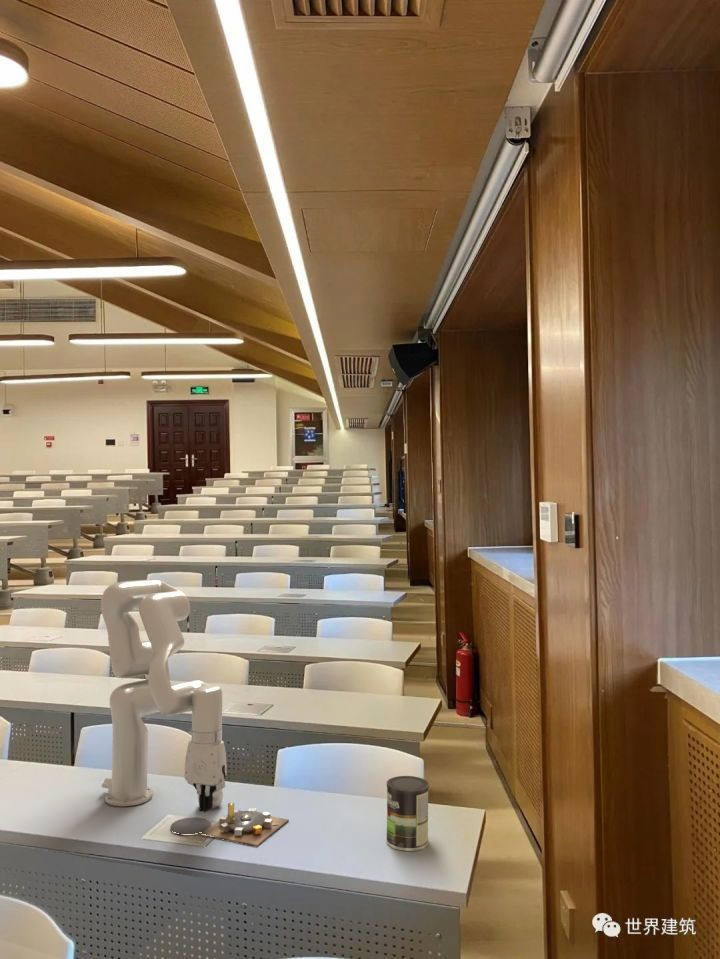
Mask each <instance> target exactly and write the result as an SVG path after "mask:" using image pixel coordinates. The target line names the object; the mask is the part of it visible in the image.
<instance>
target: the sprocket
mask: <svg viewBox="0 0 720 959" xmlns="http://www.w3.org/2000/svg"><path fill="white" fill-rule="evenodd" d="M238 810H239V809H235V802H229V803H227V815H228V816H227V815H221V816H220V818H219V820H218V821H219V825H220V830H221V831H222V832H227V831H230V832H234V836H242V835H243V834H246V833H254V834H255V835H256V834H260V833H262V829H263V828H264V827H265V828H271V826H272V819H270V816H271V813H270V812H268V811H264V812H260V811H257V808H249V809H248V810H240V812H239V811H238Z"/></svg>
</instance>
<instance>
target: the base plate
mask: <svg viewBox="0 0 720 959" xmlns="http://www.w3.org/2000/svg"><path fill="white" fill-rule="evenodd" d="M237 810H238V811H239V812H240V811H241V810H239V809H237ZM226 816H228V814H226ZM270 819H272V826H271V828H265V827H264V828H263V829H262V833H260V834H256V835H255V834H254V833H246V834H243V835H242V836H234V832H230V831H227V832H222V831H221V830H220V825H219V820H218V821H216V822H215V823H214V824H211V827H209V828H208V829H206V830H205V831H203V832H202V833H201V834H206V835H211V836H214V837H216V838H219V839H218V840H221V839H224V840H223V841H225V840H229V841H228V842H230V841H234V842H233V843H235V842H238V843H237V844H240V843H243V844H242V845H245V844H247V845H246V846H250V845H251V846H250V847H254V846H256V848H258V847H260V845H261V844H263V843H264V842H265V841H267V840H268V839H269V838H270V837H271V836H273V835H274V834H276V832H278V831H279V830H280V829H281V828H283V827H284V826H285V825H286V824H288V823H289V822H290V820H289V819H288V818H282V817H276V816H271V815H270ZM201 834H200V835H201ZM272 834H273V835H272ZM216 838H215V839H216ZM267 838H268V839H267ZM262 842H263V843H262ZM257 846H258V847H257Z"/></svg>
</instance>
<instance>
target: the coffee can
mask: <svg viewBox="0 0 720 959" xmlns="http://www.w3.org/2000/svg"><path fill="white" fill-rule="evenodd" d="M429 788H430V783H429V782H428V780H426V779H424V778H422V777H418V776H413V775H399V776H394V777H391V778H389V779H388V780H387V781H386V840H385V843H386V844H387V845H388V846H389V847H391V849H394V850H396V851H402V852H417V851H420V850H423V849H425V848H426V847H428V845H429V838H428V837H429Z"/></svg>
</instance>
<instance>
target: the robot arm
mask: <svg viewBox="0 0 720 959" xmlns="http://www.w3.org/2000/svg"><path fill="white" fill-rule="evenodd" d="M100 609H101V615H102V618H103V621H104V624H105V627H106V631H107V640H108V648H109V657H110V665H111V670H112V673H113V675H114V676H115V677H116V678H117V679H130V678H136V677H142V676H144V677H145V678H144V680H143V679H142V680H137V681H132V682H128V683H123V684H121V685H119V686H117V687H116V688H114V689H113V690H112V692H111V694H110V695H109V710H110V714H111V723H112V744H111V745H112V750H111V754H112V755H111V761H112V762H111V777H105V779H104V781H103V782H102V784H101V787H102V788H104V789H107V791H108V792H107V793H106V795H105V796H104V797H105V798H104V800H105V803H107V804H108V805H110V806H112V807H113V806H114V807H131V806H138V805H141V804H143V803H146V802H148V801H150V800H151V799H152V798H153V795H154V794H153V790H152V788H150V787H148V766H149V763H148V762H149V761H148V760H149V731H148V728H147V726H146V724H145V722H144V721H143V719H142V717H143V716H147V715H150V714H155V713H159V712H160V714H162V715H163V716H165V717H166V716H167V717H172V716H177V715H179V714H183V713H189V712H191V728H190V729H188V735H191V740H189V741H188V743H187V744H188V745H187V747H186V751H185V753H186V754H185V758H184V759H185V760H184V771H183V772H184V776H183V777H184V780H185V781H186V783H187V784H189V785H190V786H193V787H194V789H195V790H196V794H197V796H198V795H199V802H198V807H199V812H202V813H207V812H208V811H210V810H211V809H213V808H212V805H213V793H214V792H215V791H216V790H219V789H222V790H223V789H224V788H226V783H225V782H226V779H227V772H228V770H227V769H228V768H227V753H226V746H225V742H224V741H223V689H222V688H221V687H220V686H219V685H214V684H207V682H204V681H202V680H198V679H195V680H189V681H183V682H179V683H174V684H171V678H170V677H171V676H170V670H169V658H170V657H171V656H173V655H174V654H176V653H177V652H178V651H180V650H181V649H182V648H183V646H184V645H185V638H184V635H183V633H182V631H181V628H180V626H179V625H180V624H179V623H178V622H181V621H184V620H185V619H187V618H188V617H189V615H190V613H191V604H190V601H189V598H188V597H187V595H186V594H185V593H184V592H183V591H181V590H180V589H178V588H176V587H174V586H172V585H170V584H168V583H166V582H165V581H162V580H159V579H141V580H126V581H118V582H115V583H113V584H112V583H111V585H109V586H107V588H105V589H104V591H103V592H102V596H101V598H100ZM133 611H134V612H135V611H138V613H139V616H140V619H141V621H142V625H143V626H144V629H145V632H146V635H147V637H148V640H143V641H142V640H141V636H140V628H139V625H138V623H137V621H136V619H135V618H134V617H133V616H132V615H131V614H130V613H129V612H133Z"/></svg>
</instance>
